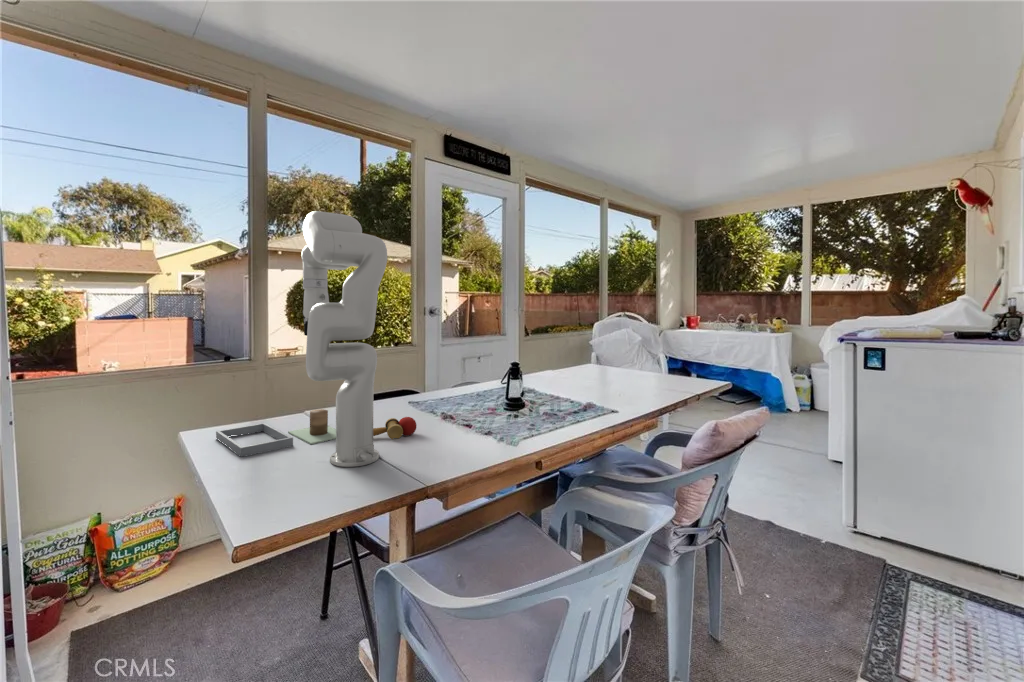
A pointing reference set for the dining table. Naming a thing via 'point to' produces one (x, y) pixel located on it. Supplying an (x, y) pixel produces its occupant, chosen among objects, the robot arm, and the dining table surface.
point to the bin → (282, 442)
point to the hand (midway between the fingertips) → (315, 336)
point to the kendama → (397, 427)
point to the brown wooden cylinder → (318, 422)
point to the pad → (313, 439)
